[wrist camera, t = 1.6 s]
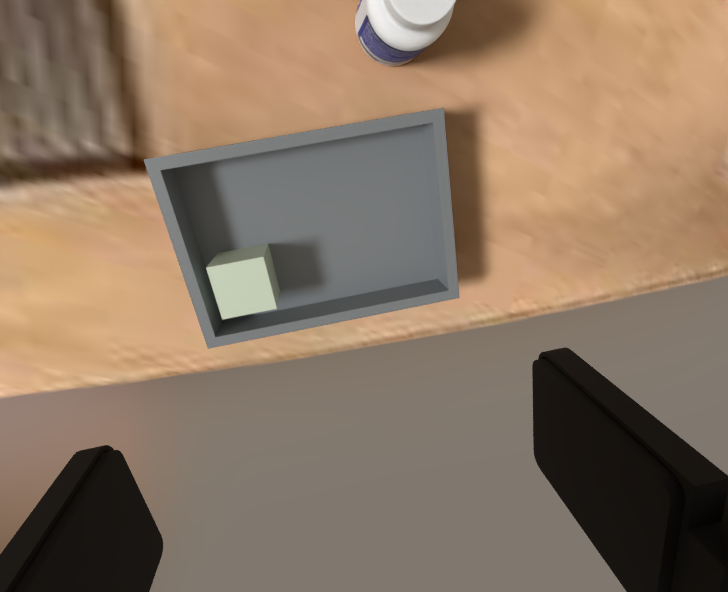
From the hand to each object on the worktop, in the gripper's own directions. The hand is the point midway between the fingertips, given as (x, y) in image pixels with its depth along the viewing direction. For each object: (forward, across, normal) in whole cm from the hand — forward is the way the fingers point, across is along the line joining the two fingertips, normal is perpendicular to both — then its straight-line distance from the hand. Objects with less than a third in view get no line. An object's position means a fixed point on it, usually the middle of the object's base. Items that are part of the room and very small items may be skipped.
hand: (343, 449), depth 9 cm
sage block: (+25, +6, +2) cm, 26 cm away
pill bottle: (+26, -8, -13) cm, 31 cm away
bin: (+26, 0, 0) cm, 26 cm away
